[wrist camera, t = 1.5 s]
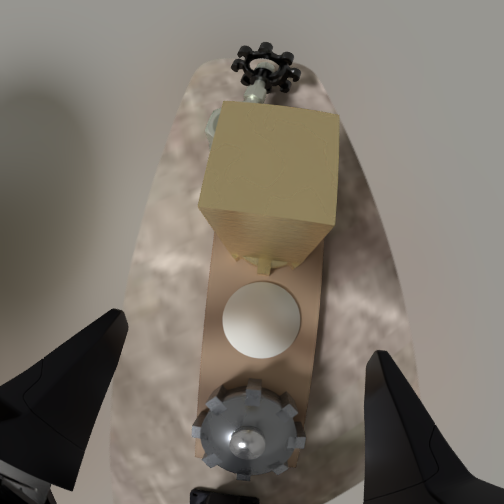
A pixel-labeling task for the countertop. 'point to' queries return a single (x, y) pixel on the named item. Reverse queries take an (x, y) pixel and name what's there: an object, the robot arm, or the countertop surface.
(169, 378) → the countertop surface
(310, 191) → the gold tall block
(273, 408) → the sun gear
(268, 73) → the valve
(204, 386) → the carrier board
